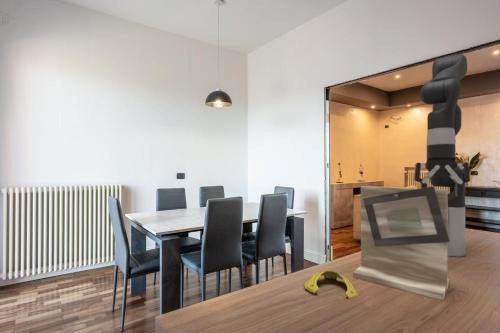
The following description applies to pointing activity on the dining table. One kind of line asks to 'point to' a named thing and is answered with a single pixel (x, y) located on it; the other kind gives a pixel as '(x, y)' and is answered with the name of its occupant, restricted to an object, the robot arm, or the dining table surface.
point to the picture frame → (406, 218)
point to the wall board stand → (404, 255)
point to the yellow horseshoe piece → (312, 281)
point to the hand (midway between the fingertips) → (441, 195)
